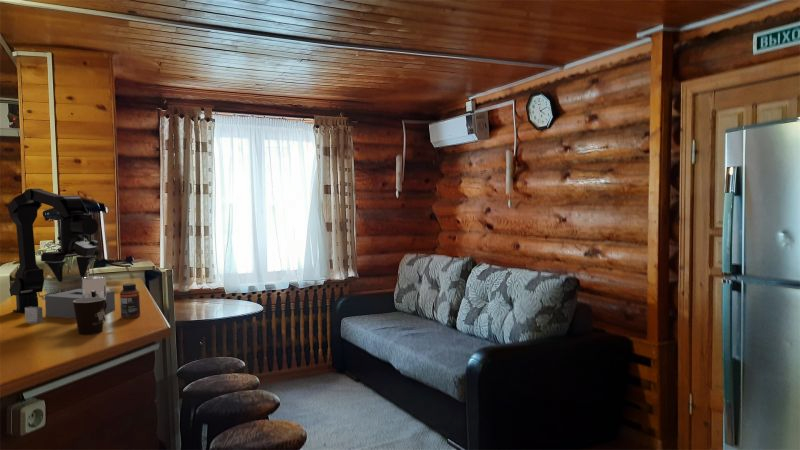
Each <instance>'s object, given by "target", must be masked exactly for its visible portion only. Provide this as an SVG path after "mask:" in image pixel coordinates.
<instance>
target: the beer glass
mask: <svg viewBox="0 0 800 450" xmlns="http://www.w3.org/2000/svg"><path fill="white" fill-rule="evenodd" d="M81 278H82V281H81V289H82V295H83V298H89V297H103V298H105V300H106V290H107V282H106V276H105V275H89V276H84V277H81ZM105 314H106V313H104V319H103V324H105V323H106V322H107V319H106V315H105Z"/></svg>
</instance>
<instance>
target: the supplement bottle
mask: <svg viewBox="0 0 800 450" xmlns="http://www.w3.org/2000/svg"><path fill="white" fill-rule="evenodd" d="M140 299H141V298H140V290H139V289H137V285H136V283H132V282H131V283H130V282H129V283H123V284H122V290H121V291H120V293H119V301H120V302H119V303H120V316H121V318H122V319H125V318H126V319H127V318H129V319H135V317H136V318H139V317H141V302H140ZM127 320H128V319H127Z"/></svg>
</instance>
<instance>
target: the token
mask: <svg viewBox="0 0 800 450" xmlns="http://www.w3.org/2000/svg"><path fill="white" fill-rule="evenodd" d="M24 315H25V316H24V319H25V323H26V324H27V323H28V324H35V325H36V324H37V325H38V324H41V323H43V322H44V320H43V319H44V318H43V317H44V315H43V307H42V306H41V307H40V306H38V307H32V306H30V307H25V312H24Z"/></svg>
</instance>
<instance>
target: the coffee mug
mask: <svg viewBox="0 0 800 450" xmlns="http://www.w3.org/2000/svg"><path fill="white" fill-rule="evenodd" d="M73 304H74V310H75V315H76V318H75V321H76V326H77V332H78V335H79V336H80V335H81V336H90V335H96V334H100V333H102V332H103V327H104V323H103V319H104V314H105V313H104V312H105V310H106V306H107V304H106V301H105V298H103V297H89V298H81V299H77V300H74V301H73Z"/></svg>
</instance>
